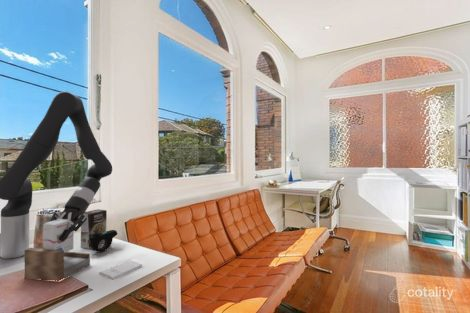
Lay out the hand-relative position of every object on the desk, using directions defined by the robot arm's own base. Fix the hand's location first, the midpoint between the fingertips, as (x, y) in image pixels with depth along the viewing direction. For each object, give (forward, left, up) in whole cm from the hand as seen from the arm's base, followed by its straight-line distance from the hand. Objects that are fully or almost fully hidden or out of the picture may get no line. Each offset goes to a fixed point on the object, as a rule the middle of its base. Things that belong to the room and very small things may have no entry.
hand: (54, 239), depth 92 cm
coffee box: (-7, +28, -13) cm, 31 cm away
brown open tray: (0, +2, -12) cm, 12 cm away
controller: (+2, +23, -13) cm, 26 cm away
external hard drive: (+22, +7, -13) cm, 26 cm away
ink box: (0, +2, -6) cm, 6 cm away
